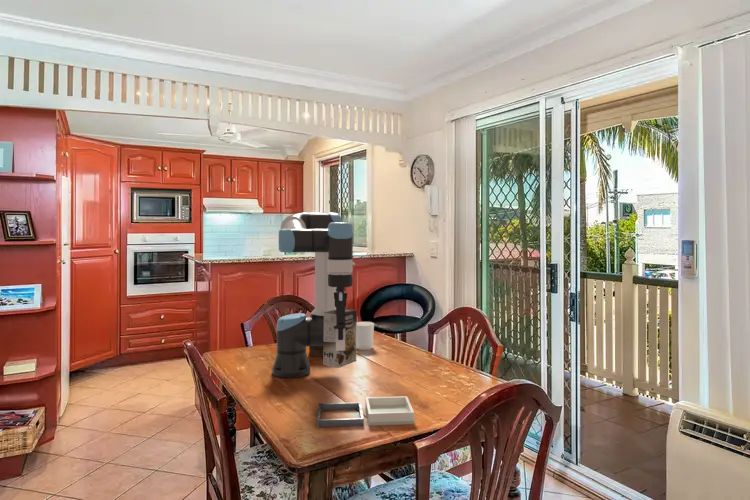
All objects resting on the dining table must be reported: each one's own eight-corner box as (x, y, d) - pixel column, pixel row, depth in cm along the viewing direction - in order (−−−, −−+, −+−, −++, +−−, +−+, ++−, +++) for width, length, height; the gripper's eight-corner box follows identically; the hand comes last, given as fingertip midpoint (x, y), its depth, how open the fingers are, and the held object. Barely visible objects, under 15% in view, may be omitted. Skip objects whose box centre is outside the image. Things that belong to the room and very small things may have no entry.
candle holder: (373, 350, 222) (374, 325, 222) (353, 350, 222) (353, 325, 222) (374, 345, 232) (374, 321, 232) (354, 345, 232) (354, 321, 232)
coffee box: (339, 368, 135) (339, 314, 135) (322, 365, 139) (322, 311, 138) (357, 361, 143) (357, 309, 142) (340, 358, 147) (340, 307, 146)
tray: (368, 425, 135) (368, 413, 135) (365, 408, 149) (365, 397, 149) (414, 424, 137) (414, 412, 136) (407, 406, 150) (407, 396, 150)
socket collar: (317, 427, 134) (317, 420, 134) (318, 409, 148) (318, 403, 147) (363, 425, 135) (363, 419, 135) (361, 408, 149) (361, 402, 149)
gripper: (354, 277, 129) (354, 355, 130) (351, 270, 152) (351, 336, 153) (327, 277, 128) (327, 356, 129) (328, 270, 151) (328, 336, 152)
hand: (340, 345), depth 141 cm, fingers closed on coffee box, 10 cm apart
